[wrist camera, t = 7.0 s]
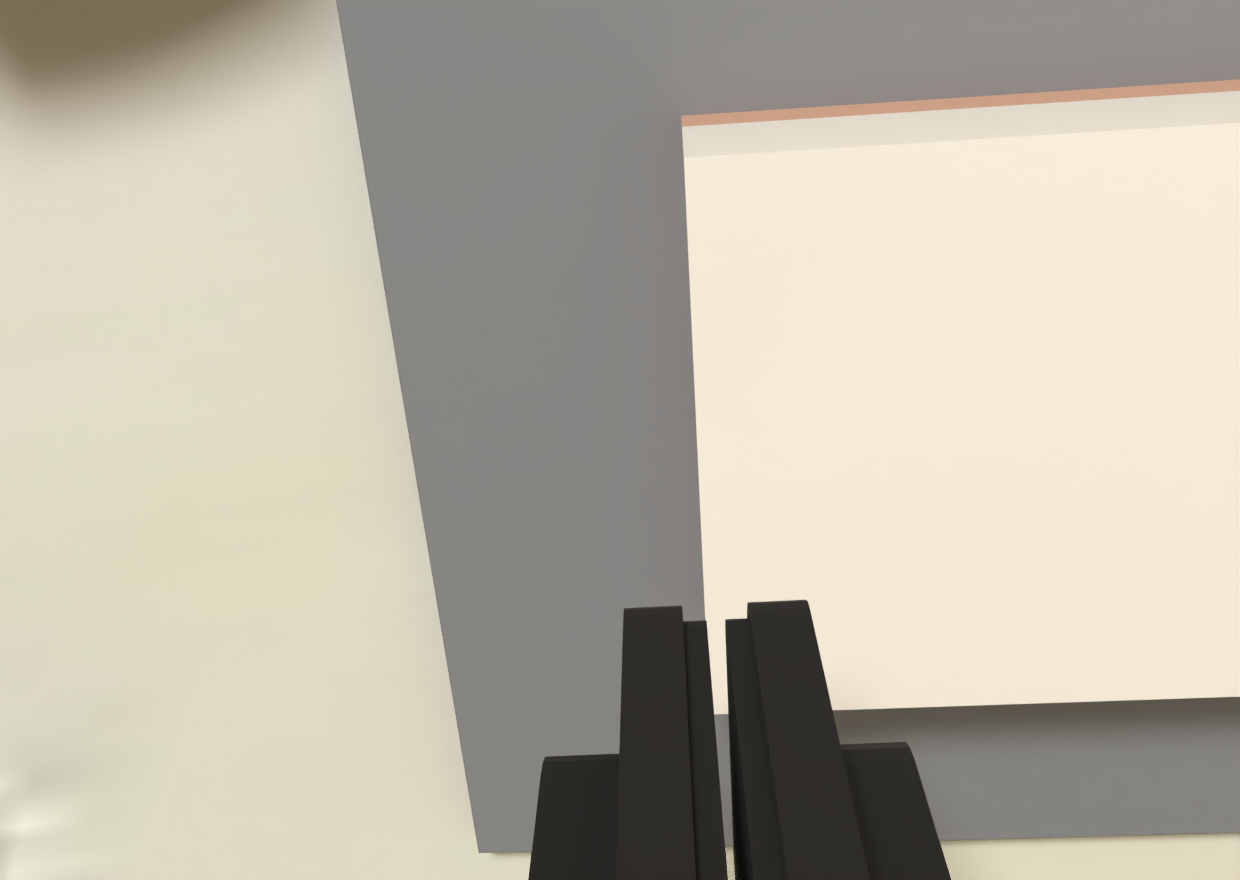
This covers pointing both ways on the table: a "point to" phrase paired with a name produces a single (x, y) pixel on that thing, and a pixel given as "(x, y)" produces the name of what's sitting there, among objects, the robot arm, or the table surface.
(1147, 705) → the mat
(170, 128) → the table surface
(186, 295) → the table surface
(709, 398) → the tile
